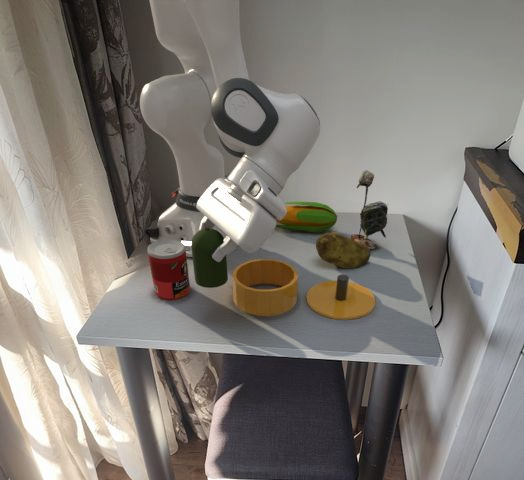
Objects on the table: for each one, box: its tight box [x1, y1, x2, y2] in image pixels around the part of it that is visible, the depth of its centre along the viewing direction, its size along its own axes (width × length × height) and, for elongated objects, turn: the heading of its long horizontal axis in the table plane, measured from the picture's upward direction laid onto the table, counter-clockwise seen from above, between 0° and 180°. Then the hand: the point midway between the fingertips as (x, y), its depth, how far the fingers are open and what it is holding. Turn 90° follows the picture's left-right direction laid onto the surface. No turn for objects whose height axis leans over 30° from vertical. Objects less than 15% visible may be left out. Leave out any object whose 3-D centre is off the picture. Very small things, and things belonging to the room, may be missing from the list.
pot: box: [231, 258, 299, 317], centre depth 99 cm, size 14×14×6 cm
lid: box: [305, 274, 376, 321], centre depth 98 cm, size 15×15×6 cm
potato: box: [315, 231, 371, 269], centre depth 110 cm, size 8×13×8 cm, turn 74°
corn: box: [275, 200, 338, 233], centre depth 127 cm, size 7×8×20 cm
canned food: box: [147, 240, 191, 301], centre depth 100 cm, size 8×8×11 cm
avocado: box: [191, 227, 229, 289], centre depth 85 cm, size 6×6×10 cm
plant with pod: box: [348, 169, 389, 250], centre depth 114 cm, size 8×11×20 cm
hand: (205, 250), depth 84 cm, fingers closed on avocado, 6 cm apart
